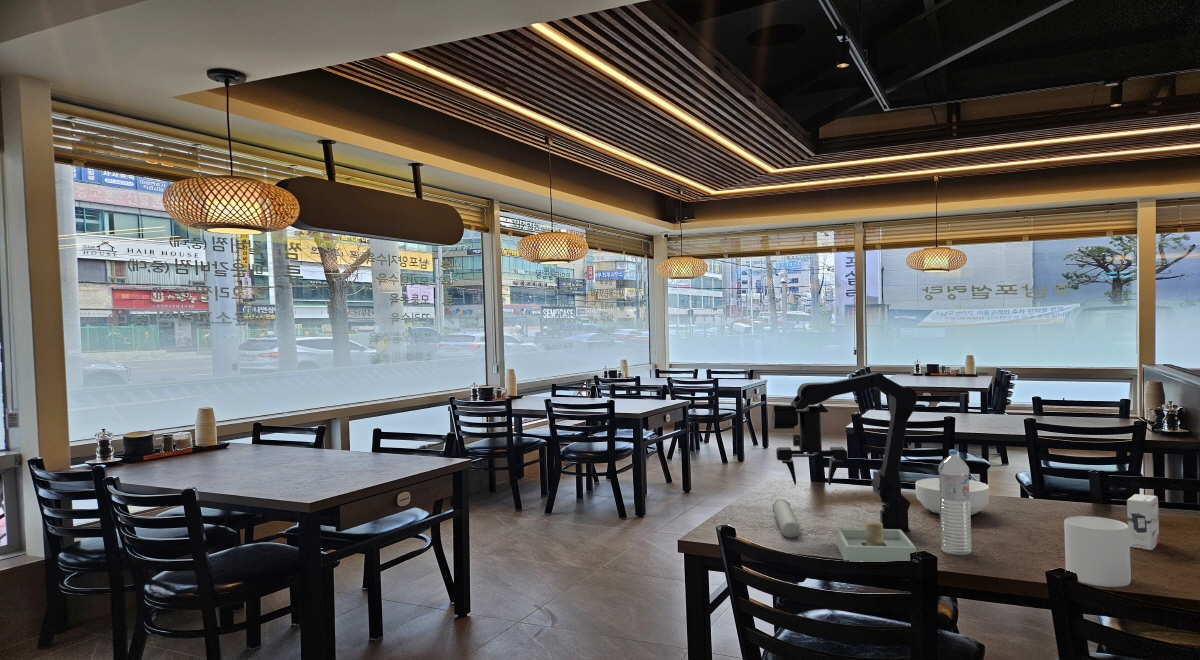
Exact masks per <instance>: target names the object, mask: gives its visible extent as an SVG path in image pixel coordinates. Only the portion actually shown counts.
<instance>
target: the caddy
mask: <svg viewBox="0 0 1200 660" xmlns="http://www.w3.org/2000/svg"><path fill="white" fill-rule="evenodd" d="M836 546H837V548H838V551H839V553H840V554H841V557H842V559H843V561H844V560H849V561H863V562H883V561H909V560H910V553H913V552H916V553H917V547H916V546H915V545H914V544H913V542H912V541H911V540H910V538H909V537H908V536H907V535H906V534H905V533H904V532H902V530H899V529H883V546H866V530H865V528H836Z"/></svg>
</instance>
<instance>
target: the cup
mask: <svg viewBox="0 0 1200 660" xmlns="http://www.w3.org/2000/svg"><path fill="white" fill-rule="evenodd" d="M1063 521H1064V524H1063V526H1064V527H1063V528H1064V556H1065V557H1064V559H1065V561H1064V562H1065V571H1066V570H1067V571H1070V572H1073V573H1076V574H1077V576H1078V581H1079V582H1078V581H1077V582H1078V583H1083V584H1085V585H1091V586H1095V587H1103V588H1104V587H1106V588H1119V587H1126V586H1129V585H1130V584H1131V581H1132V578H1131V575H1132V572H1131V570H1132V569H1131V547H1130V538H1129V526H1128V523H1125V522H1123V521H1121V520H1118V519H1117V520H1116V519H1112V518H1107V517H1101V516H1091V515H1089V516H1088V515H1076V516H1068V517H1066V518H1065V519H1064V520H1063Z"/></svg>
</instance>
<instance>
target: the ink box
mask: <svg viewBox="0 0 1200 660" xmlns="http://www.w3.org/2000/svg"><path fill="white" fill-rule="evenodd" d="M1126 511H1127V525H1128V526H1129V538H1130V548H1135V549H1136V548H1137V549H1141V548H1142V550H1148V551H1153V550H1154V549H1155V548H1156V547H1157V545H1159V543H1160V531H1159V527H1160V525H1159V523H1160V521H1159V498H1158V496H1157V495H1147V494H1139V493H1138V494H1137V493H1135V494H1133V495H1132V496H1130V497H1129V498H1128V499H1127V500H1126Z"/></svg>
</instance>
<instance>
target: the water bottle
mask: <svg viewBox="0 0 1200 660" xmlns="http://www.w3.org/2000/svg"><path fill="white" fill-rule="evenodd" d="M937 468H938V478H939V486H940V498H939V501H940V502H939V504H940V514H939V523H940V524H939V525H940V526H939V527H940V528H939V529H940V546H941V547H940V548H941V551H942V552H944V553H945V554H948V555H953V556H967V555H970V554H971V552H972V530H971V529H972V524H971V523H972V522H971V521H972V519H971V516H972V515H970V499H969V480H970V478H969V477H970V468H969V466H968V465H967V463H966V462H965V461H964V460H963V459H962V458H960V457H959V456H958V450H956V449H949V450H948V456H947V457H946V458H944V459H943V460H941V462H940V463H939V465H938V467H937Z"/></svg>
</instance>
